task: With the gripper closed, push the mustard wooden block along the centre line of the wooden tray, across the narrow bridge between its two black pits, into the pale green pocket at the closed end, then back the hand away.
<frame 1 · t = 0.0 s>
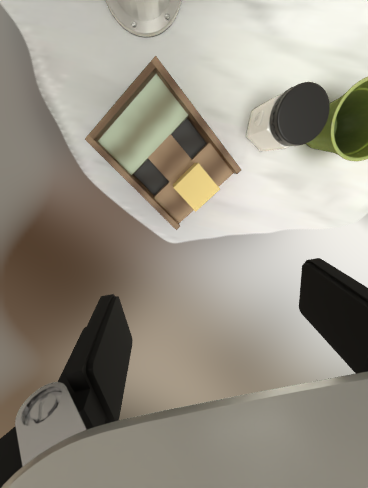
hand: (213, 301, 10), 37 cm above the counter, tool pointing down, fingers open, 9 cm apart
block: (193, 185, 42), point 3 cm above the counter, touching wooden tray
plant pot: (318, 130, 43), on the counter
jar: (266, 127, 42), on the counter
wooden tray: (131, 127, 39), on the counter
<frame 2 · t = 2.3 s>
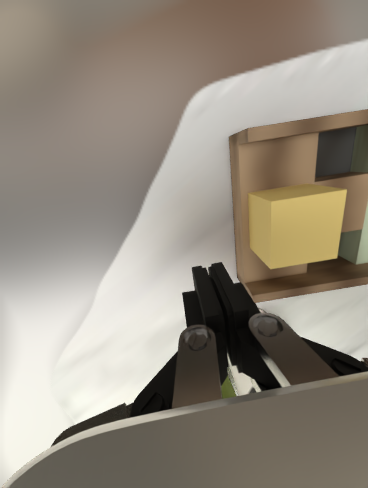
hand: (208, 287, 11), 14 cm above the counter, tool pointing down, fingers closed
block: (276, 217, 22), point 3 cm above the counter, touching wooden tray
jar: (249, 330, 32), on the counter
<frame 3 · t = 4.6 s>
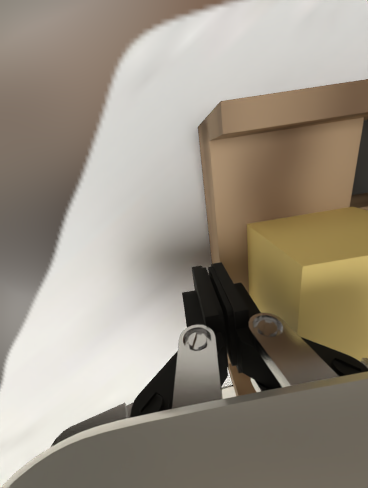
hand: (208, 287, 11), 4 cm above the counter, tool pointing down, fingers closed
block: (296, 263, 13), point 3 cm above the counter, touching gripper
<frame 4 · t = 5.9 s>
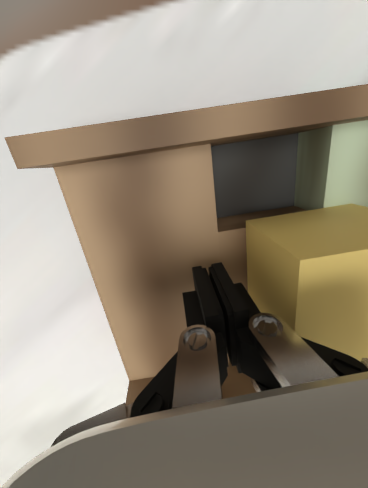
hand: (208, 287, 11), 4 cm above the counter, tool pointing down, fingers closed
block: (295, 260, 13), point 3 cm above the counter, touching gripper
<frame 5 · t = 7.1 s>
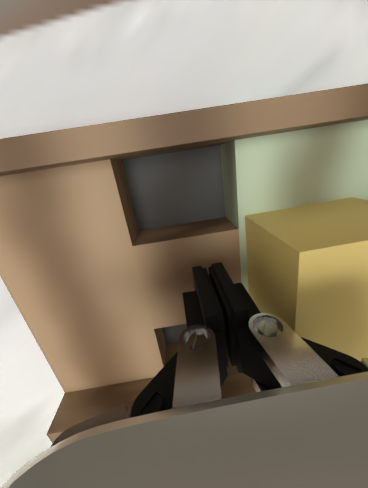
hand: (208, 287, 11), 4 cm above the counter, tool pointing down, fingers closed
block: (295, 255, 12), point 3 cm above the counter, touching wooden tray, gripper
wooden tray: (307, 223, 15), on the counter
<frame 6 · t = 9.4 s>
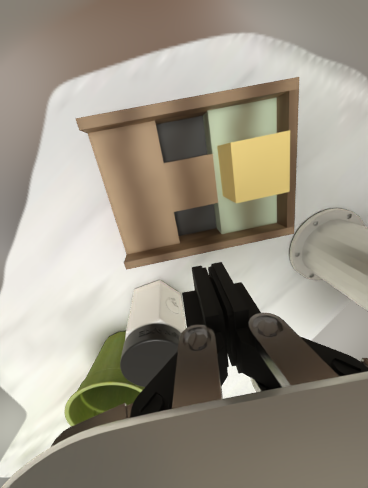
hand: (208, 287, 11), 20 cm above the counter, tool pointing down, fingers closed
block: (243, 167, 26), point 3 cm above the counter, touching wooden tray
plant pot: (123, 344, 38), on the counter
jar: (156, 300, 36), on the counter
wooden tray: (251, 157, 28), on the counter
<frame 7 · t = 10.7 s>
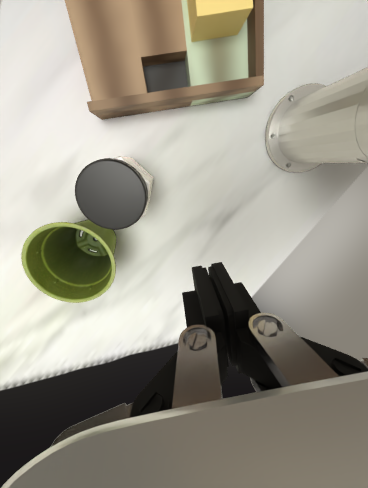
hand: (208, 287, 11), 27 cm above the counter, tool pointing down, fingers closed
block: (212, 6, 25), point 3 cm above the counter, touching wooden tray
plant pot: (96, 236, 38), on the counter
jar: (128, 185, 35), on the counter
wooden tray: (223, 12, 28), on the counter
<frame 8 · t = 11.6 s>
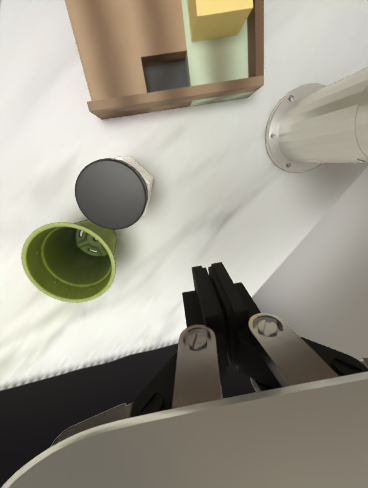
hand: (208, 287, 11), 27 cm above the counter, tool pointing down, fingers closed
block: (212, 6, 25), point 3 cm above the counter, touching wooden tray
plant pot: (96, 236, 38), on the counter
jar: (128, 185, 35), on the counter
wooden tray: (223, 12, 28), on the counter
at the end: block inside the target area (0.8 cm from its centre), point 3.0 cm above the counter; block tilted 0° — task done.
